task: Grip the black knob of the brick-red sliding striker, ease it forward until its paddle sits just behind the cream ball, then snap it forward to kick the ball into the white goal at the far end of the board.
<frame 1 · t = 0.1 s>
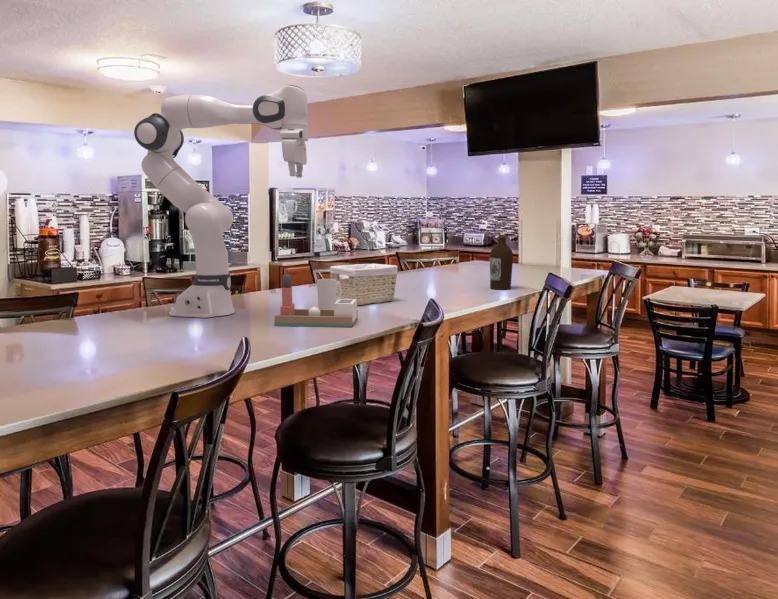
hand: (296, 177, 214), 48 cm above the table, fingers open, 8 cm apart
board: (317, 322, 207), on the table
mug: (330, 313, 226), on the table
striker: (287, 296, 206), point 9 cm above the table, slide at 0.0 cm
ball: (314, 312, 206), point 3 cm above the table, touching board
storage basket: (364, 302, 251), on the table
olive oil: (500, 289, 290), on the table
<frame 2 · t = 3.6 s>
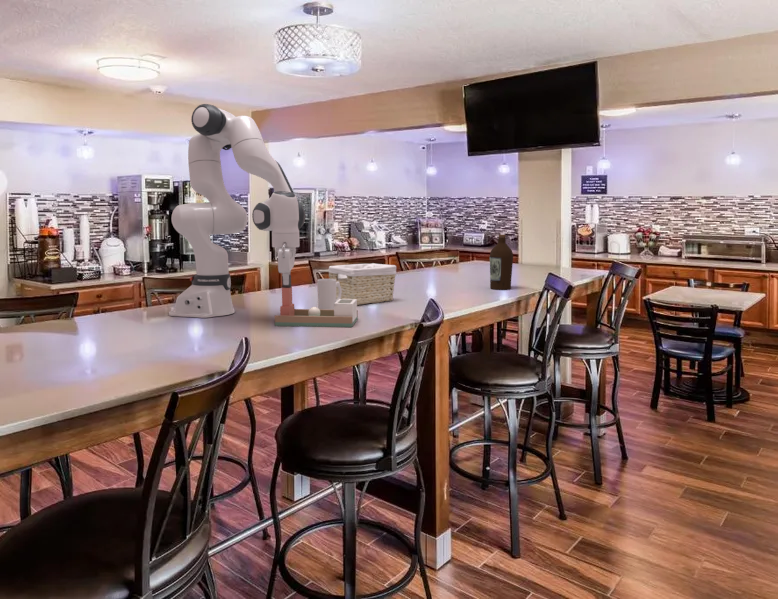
hand: (286, 283, 206), 13 cm above the table, fingers closed on striker, 3 cm apart
striker: (287, 296, 206), point 9 cm above the table, slide at 0.0 cm, touching gripper
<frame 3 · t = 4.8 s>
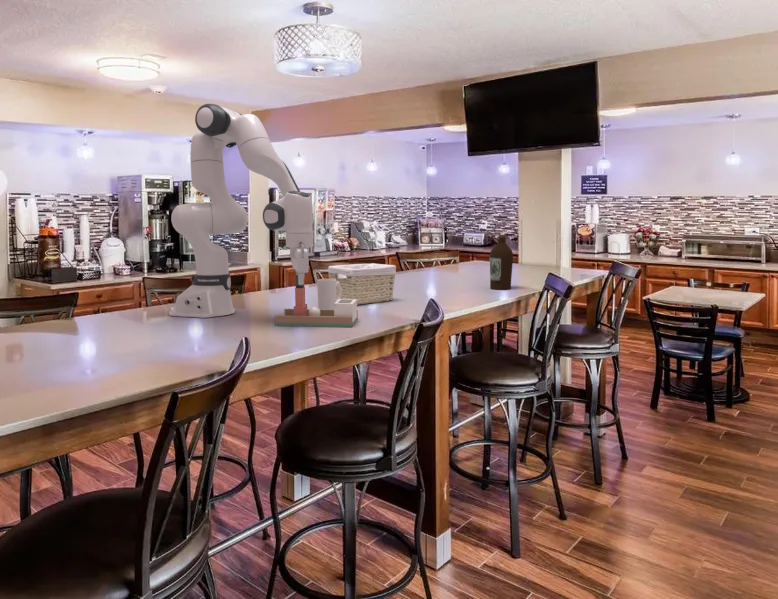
hand: (300, 284, 205), 13 cm above the table, fingers closed on striker, 3 cm apart
striker: (300, 296, 206), point 9 cm above the table, slide at 4.4 cm, touching gripper
everything else where it was.
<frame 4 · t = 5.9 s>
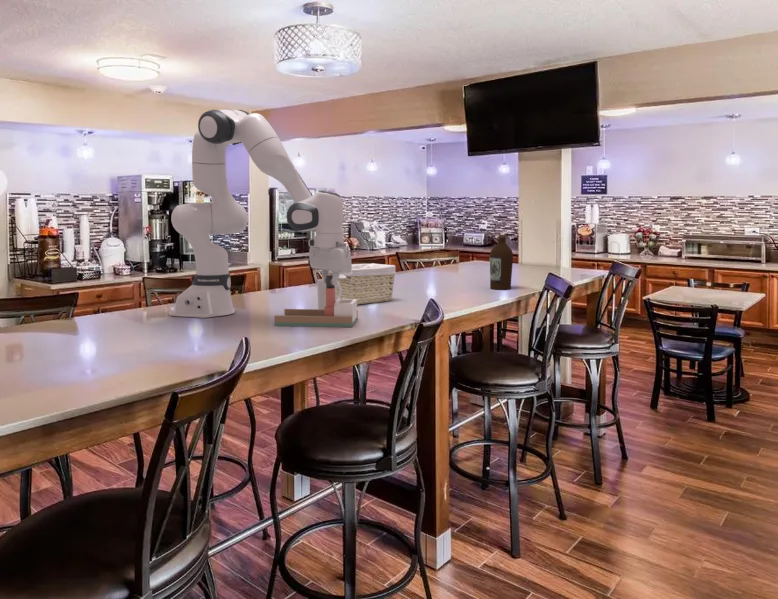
hand: (330, 284, 205), 13 cm above the table, fingers closed on striker, 3 cm apart
striker: (330, 296, 205), point 9 cm above the table, slide at 14.5 cm, touching gripper
ball: (344, 313, 206), point 3 cm above the table, tilted 87°, touching board
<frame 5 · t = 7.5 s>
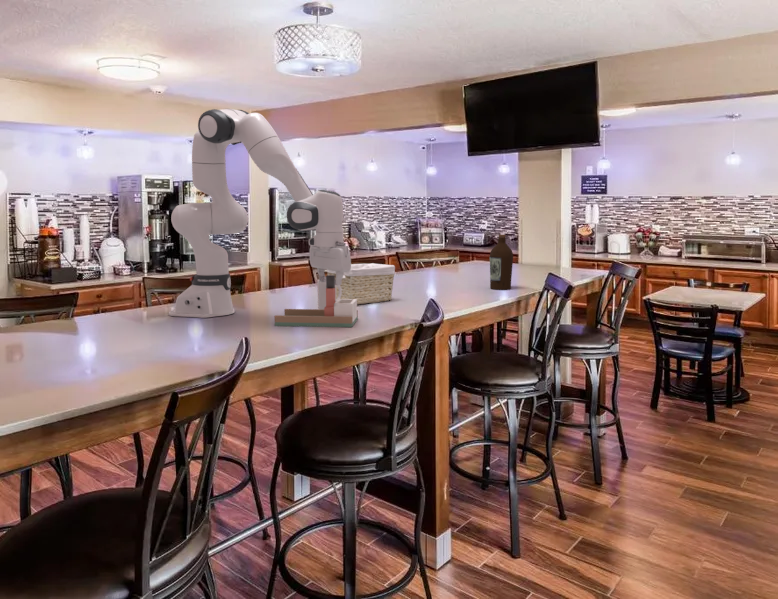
hand: (330, 283, 205), 13 cm above the table, fingers open, 8 cm apart
striker: (330, 296, 205), point 9 cm above the table, slide at 14.6 cm
ball: (341, 313, 206), point 3 cm above the table, tilted 118°, touching board
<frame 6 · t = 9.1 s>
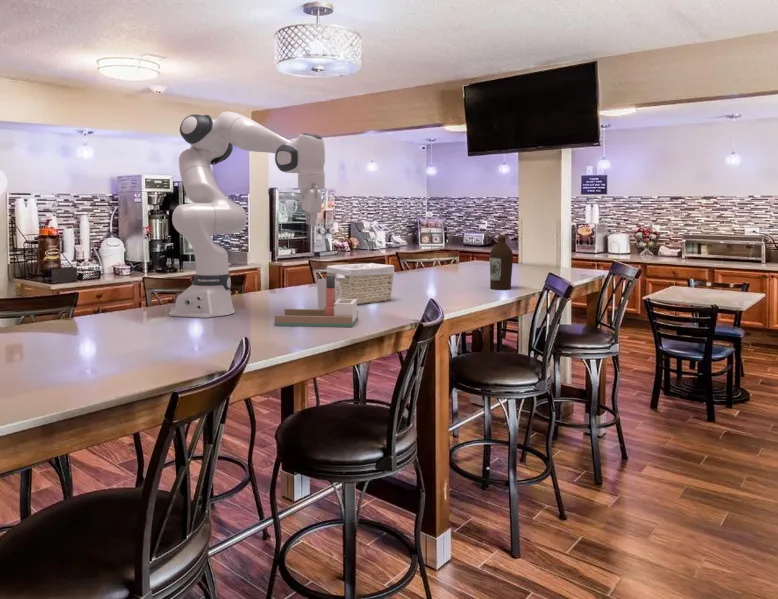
hand: (311, 225, 211), 32 cm above the table, fingers open, 8 cm apart
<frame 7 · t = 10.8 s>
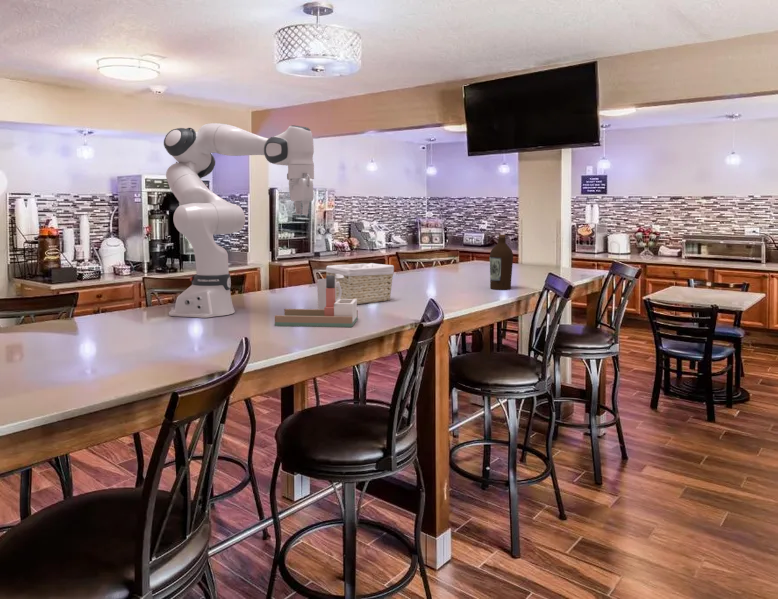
hand: (301, 214, 217), 35 cm above the table, fingers open, 8 cm apart
at the end: ball 1.2 cm from the target spot on the board, point 3.2 cm above the board's base; striker slide at 14.6 cm; the gripper is holding nothing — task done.
